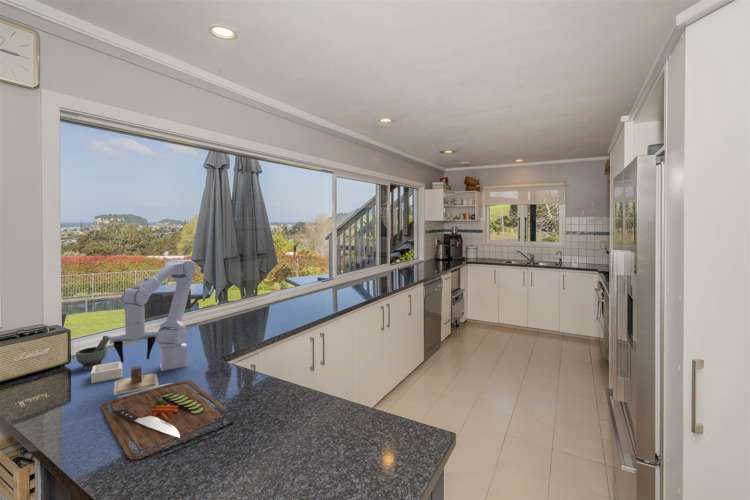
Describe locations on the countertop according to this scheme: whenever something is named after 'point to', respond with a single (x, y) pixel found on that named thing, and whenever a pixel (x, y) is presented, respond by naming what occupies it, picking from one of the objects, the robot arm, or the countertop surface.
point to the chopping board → (159, 415)
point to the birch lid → (135, 381)
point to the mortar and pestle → (93, 354)
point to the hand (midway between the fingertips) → (135, 360)
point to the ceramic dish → (106, 372)
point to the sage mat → (136, 389)
